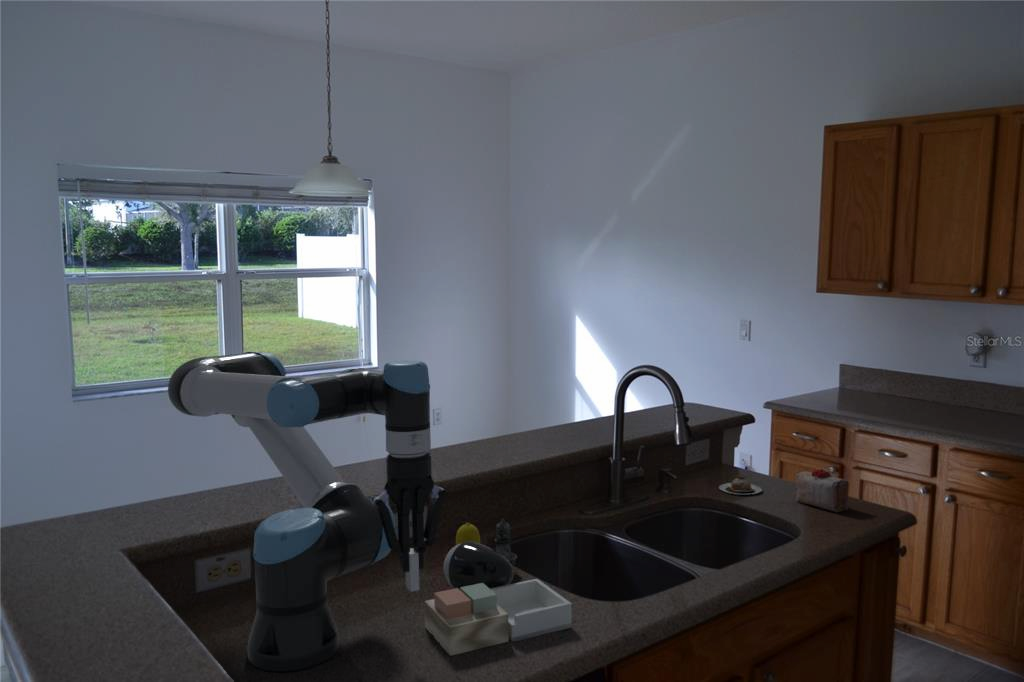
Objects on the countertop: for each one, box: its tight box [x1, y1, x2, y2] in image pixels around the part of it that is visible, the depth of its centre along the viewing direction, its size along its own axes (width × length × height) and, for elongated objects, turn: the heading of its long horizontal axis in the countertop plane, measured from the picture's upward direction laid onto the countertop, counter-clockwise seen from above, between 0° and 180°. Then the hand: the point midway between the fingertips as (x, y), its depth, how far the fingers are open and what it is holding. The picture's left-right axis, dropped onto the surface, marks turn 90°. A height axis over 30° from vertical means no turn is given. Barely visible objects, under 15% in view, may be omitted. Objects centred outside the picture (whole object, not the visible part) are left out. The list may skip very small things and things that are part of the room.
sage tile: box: [460, 583, 497, 613], centre depth 142 cm, size 4×6×2 cm
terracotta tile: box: [433, 588, 471, 619], centre depth 140 cm, size 4×6×2 cm
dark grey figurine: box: [494, 517, 518, 577], centre depth 169 cm, size 6×6×12 cm
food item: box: [795, 469, 850, 513], centre depth 214 cm, size 14×8×10 cm, turn 34°
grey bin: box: [491, 578, 573, 643], centre depth 146 cm, size 12×13×4 cm
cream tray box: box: [424, 598, 510, 656], centre depth 141 cm, size 11×12×5 cm
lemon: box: [455, 522, 481, 546], centre depth 178 cm, size 6×6×8 cm
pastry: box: [718, 475, 763, 496], centre depth 229 cm, size 12×12×5 cm
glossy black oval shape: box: [443, 541, 515, 590], centre depth 157 cm, size 10×10×15 cm
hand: (412, 588), depth 136 cm, fingers closed
